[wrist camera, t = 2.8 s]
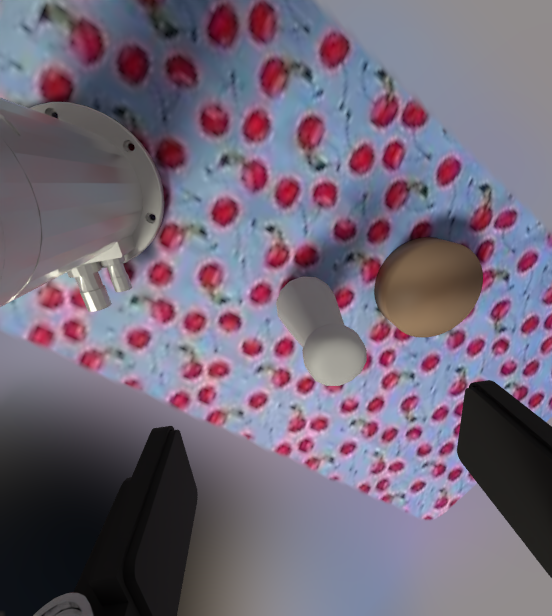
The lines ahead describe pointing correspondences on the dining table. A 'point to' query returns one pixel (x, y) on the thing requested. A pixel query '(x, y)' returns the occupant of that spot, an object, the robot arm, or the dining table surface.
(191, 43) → the dining table surface
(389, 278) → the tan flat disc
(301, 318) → the salt shaker
